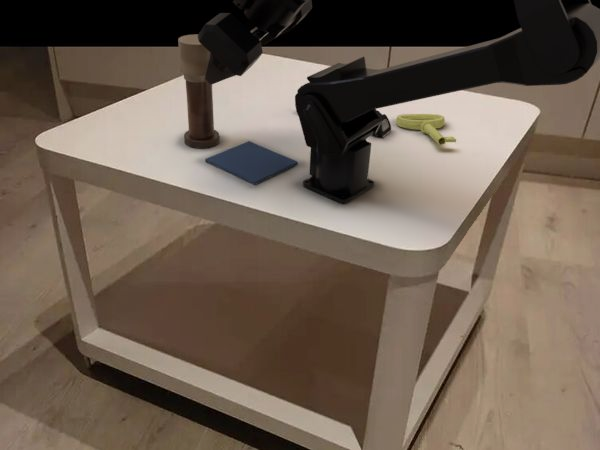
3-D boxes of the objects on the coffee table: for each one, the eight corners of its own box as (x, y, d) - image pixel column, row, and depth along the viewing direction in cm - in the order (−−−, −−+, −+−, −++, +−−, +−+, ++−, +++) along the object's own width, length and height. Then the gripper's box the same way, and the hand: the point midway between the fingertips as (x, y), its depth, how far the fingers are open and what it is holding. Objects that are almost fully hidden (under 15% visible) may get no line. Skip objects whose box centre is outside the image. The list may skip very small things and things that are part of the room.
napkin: (298, 164, 81) (298, 161, 80) (254, 184, 75) (254, 182, 75) (249, 143, 85) (249, 140, 85) (205, 161, 80) (205, 158, 80)
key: (439, 154, 85) (441, 139, 84) (390, 121, 94) (391, 108, 93) (480, 146, 87) (483, 132, 86) (428, 115, 97) (430, 102, 96)
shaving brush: (220, 134, 88) (217, 34, 80) (218, 148, 84) (214, 45, 76) (186, 133, 88) (180, 33, 80) (182, 148, 83) (174, 44, 76)
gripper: (275, -102, 72) (214, -6, 83) (192, -57, 59) (133, 50, 70) (344, -33, 74) (276, 52, 85) (278, 26, 61) (207, 117, 72)
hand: (226, 65), depth 78 cm, fingers open, 9 cm apart
